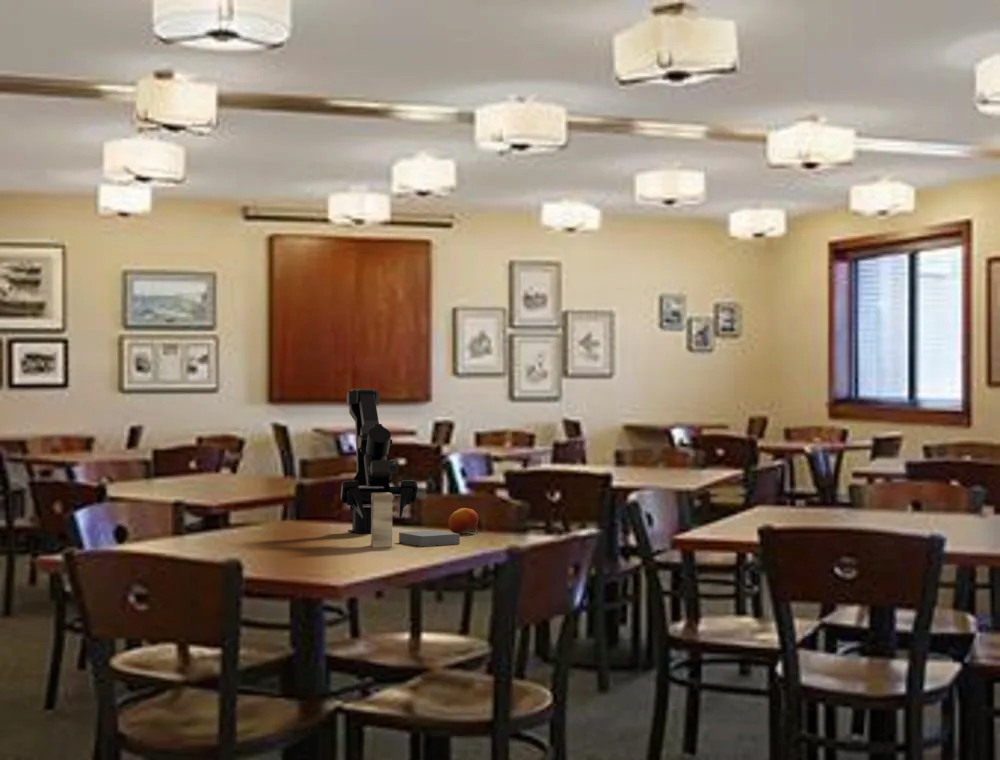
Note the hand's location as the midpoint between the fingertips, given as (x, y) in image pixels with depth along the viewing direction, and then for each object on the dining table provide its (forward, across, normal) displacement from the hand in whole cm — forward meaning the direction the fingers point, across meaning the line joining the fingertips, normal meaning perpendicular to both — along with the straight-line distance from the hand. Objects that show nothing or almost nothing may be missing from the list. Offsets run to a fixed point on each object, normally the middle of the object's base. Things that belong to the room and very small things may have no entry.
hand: (382, 517), depth 348 cm
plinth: (+1, +13, +9) cm, 15 cm away
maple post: (+4, 0, +6) cm, 7 cm away
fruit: (-14, +26, +25) cm, 39 cm away
